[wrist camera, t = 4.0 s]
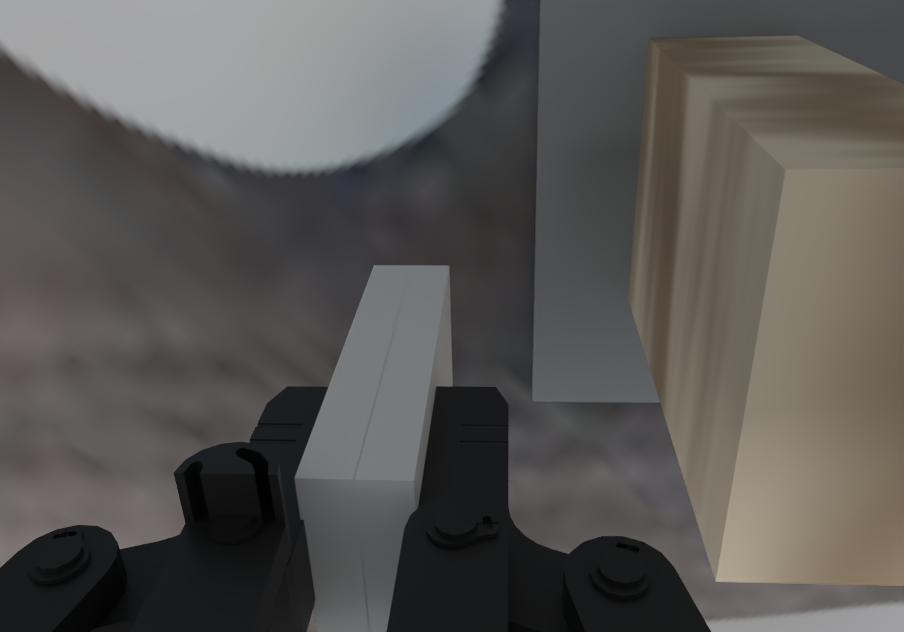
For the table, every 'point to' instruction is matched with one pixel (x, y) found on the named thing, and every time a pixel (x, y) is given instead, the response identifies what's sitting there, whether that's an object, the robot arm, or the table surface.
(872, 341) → the maple block
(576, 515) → the table surface
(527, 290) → the table surface
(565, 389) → the rubber mat
